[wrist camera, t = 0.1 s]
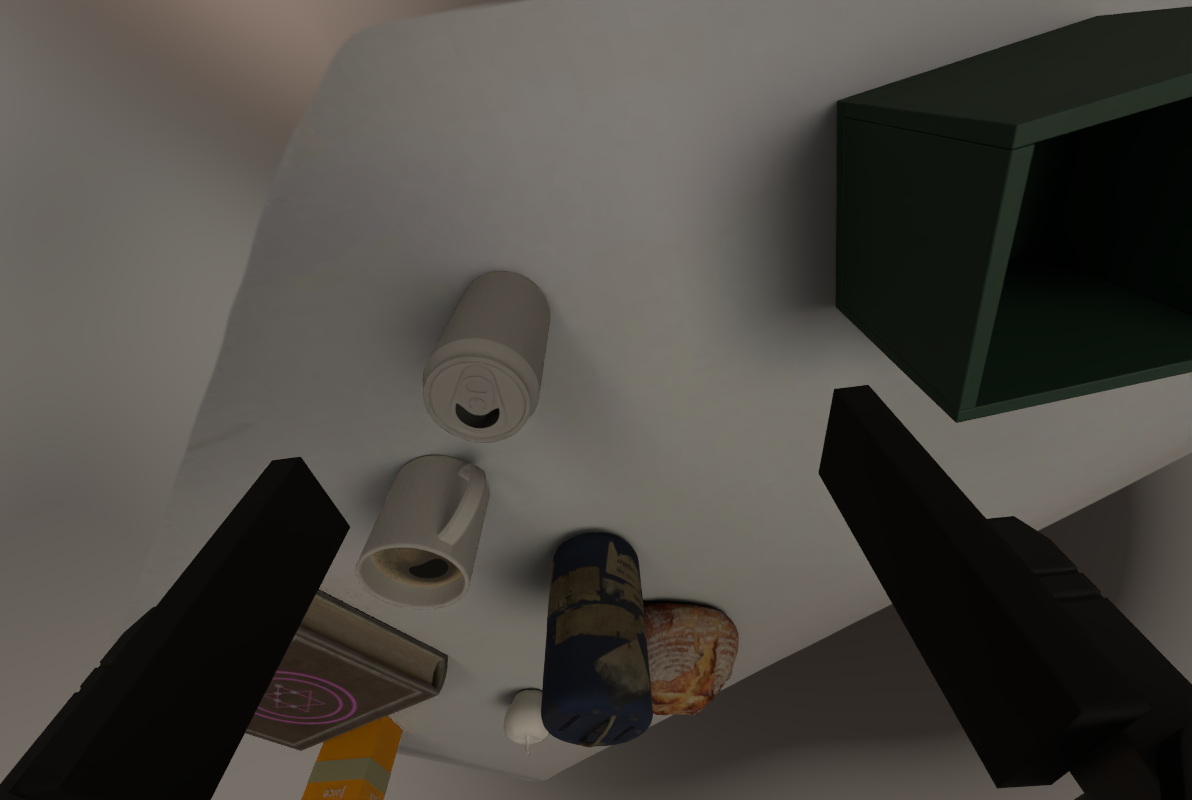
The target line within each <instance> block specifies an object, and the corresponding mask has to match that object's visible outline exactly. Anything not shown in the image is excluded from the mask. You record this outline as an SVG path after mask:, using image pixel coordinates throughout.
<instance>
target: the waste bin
mask: <svg viewBox="0 0 1192 800" xmlns="http://www.w3.org/2000/svg"><path fill="white" fill-rule="evenodd" d="M836 308H837V309H838V310H839V311H840V312H842V313H843V314H844V315H845V316H846V317H847V318H848V319H849V320H850V321H851V322H852V323H853V324H854V325H855V326H856V327H857V328H858V329H859V330H860V331H861V332H862V333H863V334H864V335H865V336H866V337H868V338H869V339H870V340H871V341H872V342H873V343H874V344H875V345H876V346H877V347H878V348H879V349H880V350H881V351H882V352H883V353H884V354H885V355H886V356H887V357H888V358H889V359H890V360H891V361H892V362H893V363H895V364H896V365H897V366H898V367H899V368H900V369H901V370H902V371H903V372H904V373H905V374H906V375H907V376H908V377H909V378H910V379H911V380H912V381H913V382H914V383H915V384H916V385H917V386H918V387H919V388H921V389H922V390H923V391H924V392H925V393H926V394H927V395H928V396H929V397H930V398H931V399H932V400H933V401H934V402H935V403H936V404H937V405H938V406H939V407H940V408H941V409H942V410H943V411H944V412H945V413H947V414H948V415H949V416H950V417H951V418H952V419H953V420H954V421H955V422H956V423H958V422H963V421H967V420H972V419H976V418H981V417H986V416H990V415H995V414H1000V413H1004V412H1009V411H1013V410H1018V409H1023V408H1027V407H1032V406H1037V405H1041V404H1046V403H1050V402H1055V401H1060V400H1064V399H1069V398H1074V397H1078V396H1083V395H1087V394H1092V393H1097V392H1101V391H1106V390H1111V389H1115V388H1120V387H1124V386H1129V385H1134V384H1138V383H1143V382H1148V381H1152V380H1157V379H1161V378H1166V377H1171V376H1175V375H1180V374H1185V373H1189V372H1192V7H1182V8H1172V9H1162V10H1152V11H1142V12H1132V13H1122V14H1114V15H1103V16H1096V17H1093V18H1090V19H1087V20H1084V21H1081V22H1077V23H1074V24H1071V25H1068V26H1065V27H1062V28H1059V29H1056V30H1053V31H1050V32H1047V33H1044V34H1041V35H1038V36H1035V37H1031V38H1028V39H1025V40H1022V41H1019V42H1016V43H1013V44H1010V45H1007V46H1004V47H1001V48H998V49H995V50H992V51H989V52H985V53H982V54H979V55H976V56H973V57H970V58H967V59H964V60H961V61H958V62H955V63H952V64H949V65H946V66H943V67H939V68H936V69H933V70H930V71H927V72H924V73H921V74H918V75H915V76H912V77H909V78H906V79H903V80H900V81H897V82H893V83H890V84H887V85H884V86H881V87H878V88H875V89H872V90H869V91H866V92H863V93H860V94H857V95H854V96H851V97H847V98H844V99H841V100H839V101H837V207H836Z"/></svg>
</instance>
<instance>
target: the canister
mask: <svg viewBox="0 0 1192 800" xmlns="http://www.w3.org/2000/svg"><path fill="white" fill-rule="evenodd" d="M652 717H653V706H652V691H651V681H650V670H649V660H648V650H647V636H646V625H645V619H644V608H643V599H642V590H641V580H640V570H639V561H638V557H637V554H636V552H635V550H634V549H633V548H632V546H631V545H630V544H629V543H627V542H626V541H624V540H623V539H621V538H619V537H617V536H614V535H610V534H605V533H587V534H581V535H578V536H575V537H572V538H570V539H568V540H567V541H565V542H564V543H562V544H561V545H560V546H559V547H558V549H557V550H556V552H555V554H554V556H553V560H552V566H551V579H550V591H549V605H548V617H547V637H546V650H545V662H544V675H543V689H542V703H541V718H542V722H543V725H544V727H545V729H546V730H547V731H548V732H549V733H550V734H551V735H552V736H554V737H556V738H558V739H560V740H562V741H565V742H568V743H572V744H577V745H582V746H585V747H594V746H608V745H615V744H620V743H624V742H628V741H630V740H632V739H634V738H636V737H638V736H640V735H641V734H642V733H644V732H645V731H646V730H647V729H648V727H649V726H650V724H651V721H652Z"/></svg>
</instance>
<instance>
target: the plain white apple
mask: <svg viewBox="0 0 1192 800" xmlns="http://www.w3.org/2000/svg"><path fill="white" fill-rule="evenodd" d="M541 703H542V692H541V691H539V690H536V689H534V690H523V691H521V692H519V693H518V694H517V695H516V696H515V698H514V700H513V701H512V703H511V705H510V707H509V708H508V710H507V712H506V715H505V718H504V731H505V734H506V736H507V737H508V738H509V739H510V740H512V741H513V742H515V743H517V744H525V745H526V753H527V755H530V753H529V745H530V744H534V743H539V742H541V741H542V740H543V739H544V738H545V737H546V736H547V735H548V734H549V732H548V731H547V730H546V729H545V727H544V725H543V722H542V718H541Z"/></svg>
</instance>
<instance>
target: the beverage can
mask: <svg viewBox="0 0 1192 800" xmlns="http://www.w3.org/2000/svg"><path fill="white" fill-rule="evenodd" d="M549 324H550V309H549V305H548V302H547V300H546V298H545V296H544V294H543V293H542V291H541V290H540V289H539V288H538V286H537V285H535V284H534V283H533V282H532V281H531V280H529V279H528V278H526V277H524V276H522V275H519V274H517V273H513V272H507V271H497V272H491V273H488V274H485V275H483V276H481V277H479V278H477V279H476V280H475V281H474V282H472V284H471V285H470V286H469V287H468V288H467V290H466V292H465V294H464V295H463V297H462V299H461V301H460V303H459V305H458V307H457V308H456V310H455V312H454V314H453V316H452V318H451V319H450V321H449V323H448V325H447V327H446V329H445V331H444V332H443V334H442V336H441V338H440V340H439V342H438V343H437V345H436V347H435V349H434V351H433V353H432V354H431V356H430V358H429V360H428V362H427V364H426V366H425V369H424V373H423V387H424V392H423V396H424V403H425V406H426V408H427V411H428V413H429V414H430V416H431V417H432V419H433V420H434V421H435V422H436V423H437V424H438V425H439V426H440V427H441V428H442V429H444V430H445V431H447V432H449V433H450V434H452V435H454V436H456V437H458V438H461V439H464V440H468V441H473V442H484V443H486V442H495V441H500V440H503V439H506V438H508V437H510V436H512V435H514V434H515V433H516V432H518V431H519V430H520V429H521V428H522V427H523V425H524V424H525V423H526V421H527V419H528V418H529V417H530V416H531V415H532V413H533V412H534V410H535V408H536V406H537V404H538V400H539V394H540V387H541V380H542V373H543V366H544V359H545V352H546V345H547V338H548V331H549Z"/></svg>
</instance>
